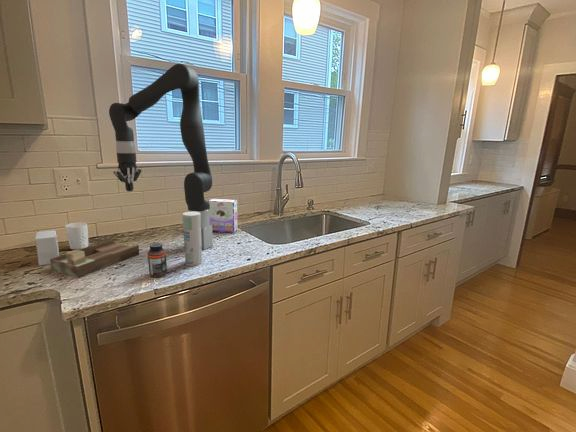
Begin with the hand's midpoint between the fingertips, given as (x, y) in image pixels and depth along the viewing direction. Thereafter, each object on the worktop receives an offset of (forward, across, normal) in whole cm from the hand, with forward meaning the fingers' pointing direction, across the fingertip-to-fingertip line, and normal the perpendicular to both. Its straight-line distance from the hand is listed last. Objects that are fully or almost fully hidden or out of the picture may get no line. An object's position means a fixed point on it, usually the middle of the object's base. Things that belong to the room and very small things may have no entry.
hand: (129, 191), depth 142 cm
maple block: (+20, -32, -10) cm, 40 cm away
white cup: (+23, -18, +12) cm, 32 cm away
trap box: (+23, -24, -10) cm, 35 cm away
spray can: (+23, -8, -42) cm, 49 cm away
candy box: (+23, +32, -27) cm, 48 cm away
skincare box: (+23, -32, +8) cm, 40 cm away
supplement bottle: (+23, -22, -38) cm, 50 cm away
